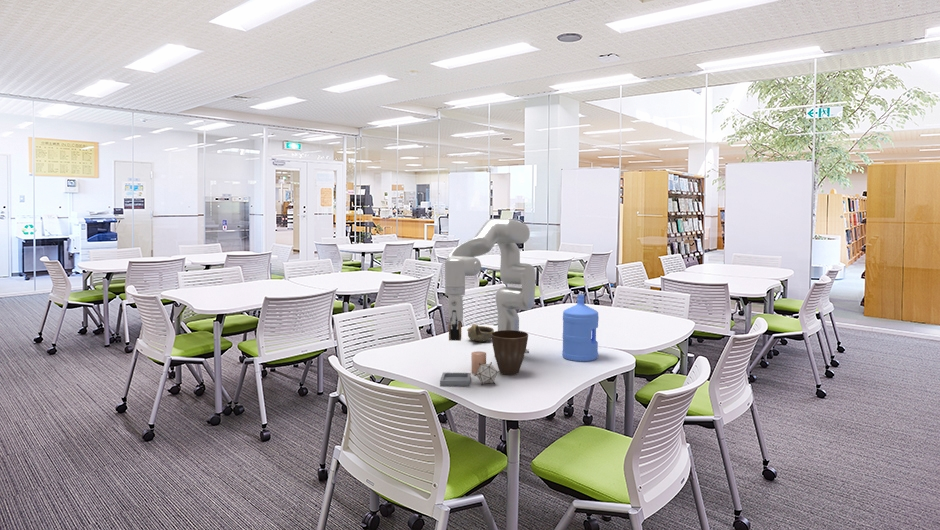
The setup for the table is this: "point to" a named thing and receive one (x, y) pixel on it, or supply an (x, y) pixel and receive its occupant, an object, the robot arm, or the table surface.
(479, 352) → the peach round domed cylinder
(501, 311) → the robot arm
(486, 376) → the game die
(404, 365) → the table surface
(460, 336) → the walnut block
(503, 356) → the plant pot
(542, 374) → the table surface
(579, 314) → the water jug
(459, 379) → the tray
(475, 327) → the tan curved open container
